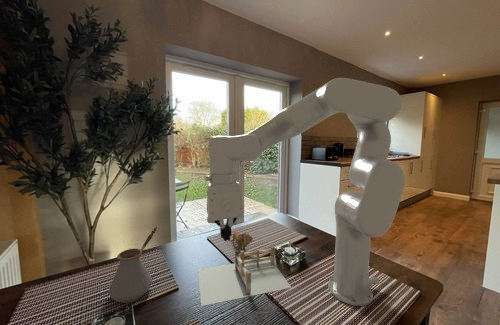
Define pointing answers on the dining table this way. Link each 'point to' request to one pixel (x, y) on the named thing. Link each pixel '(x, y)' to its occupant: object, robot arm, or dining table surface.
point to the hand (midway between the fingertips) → (226, 238)
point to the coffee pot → (131, 275)
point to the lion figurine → (241, 240)
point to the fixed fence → (271, 258)
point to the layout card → (238, 282)
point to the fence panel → (243, 272)
